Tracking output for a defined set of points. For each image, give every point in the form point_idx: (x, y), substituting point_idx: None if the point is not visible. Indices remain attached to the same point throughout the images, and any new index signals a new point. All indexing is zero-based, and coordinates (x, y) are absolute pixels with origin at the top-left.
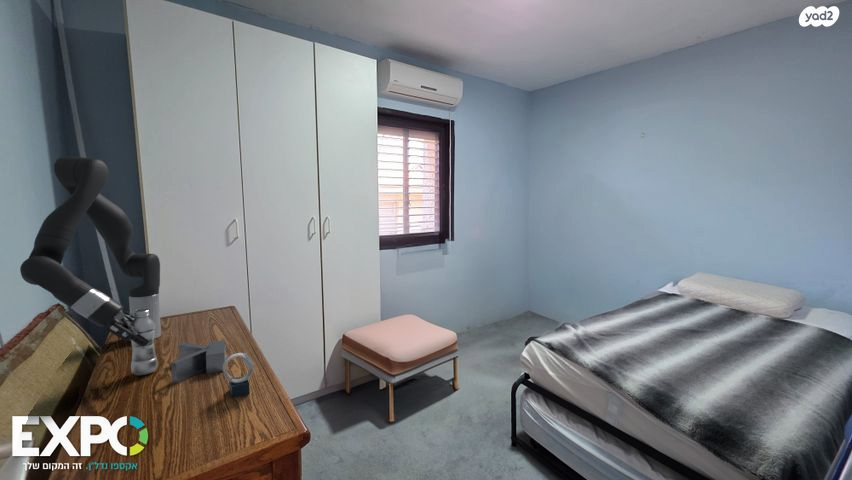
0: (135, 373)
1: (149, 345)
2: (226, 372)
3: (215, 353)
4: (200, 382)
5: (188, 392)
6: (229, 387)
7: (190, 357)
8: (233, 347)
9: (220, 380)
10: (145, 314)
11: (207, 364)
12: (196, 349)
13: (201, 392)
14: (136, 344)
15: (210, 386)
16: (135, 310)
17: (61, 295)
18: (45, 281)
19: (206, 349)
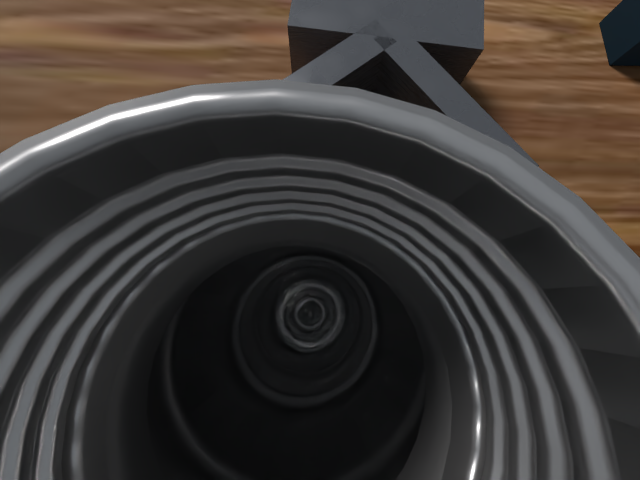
0: (343, 348)
1: (358, 281)
2: None
3: (480, 14)
4: (509, 134)
5: (577, 170)
6: (626, 56)
7: (481, 108)
8: (210, 7)
9: (522, 79)
10: (494, 275)
11: (458, 81)
12: (341, 85)
13: (594, 136)
14: (371, 369)
15: (558, 109)
16: None
17: None
18: None
19: (401, 41)
